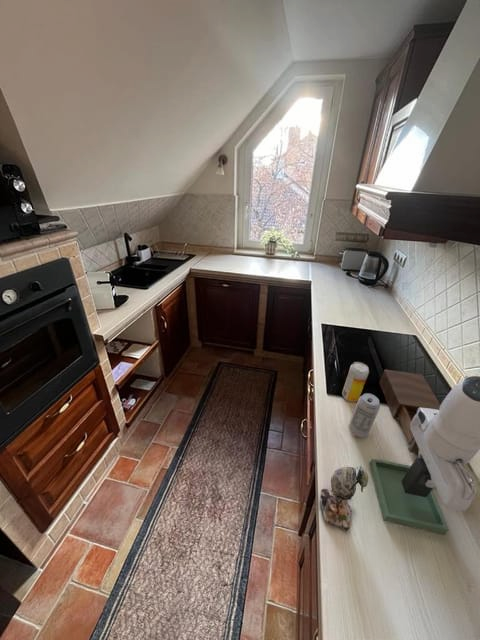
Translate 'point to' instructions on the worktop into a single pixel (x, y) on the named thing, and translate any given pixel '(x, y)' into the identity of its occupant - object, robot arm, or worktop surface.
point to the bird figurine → (342, 495)
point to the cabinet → (407, 391)
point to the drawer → (408, 425)
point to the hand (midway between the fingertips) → (424, 474)
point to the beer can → (355, 381)
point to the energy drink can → (364, 415)
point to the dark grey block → (417, 479)
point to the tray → (404, 499)
